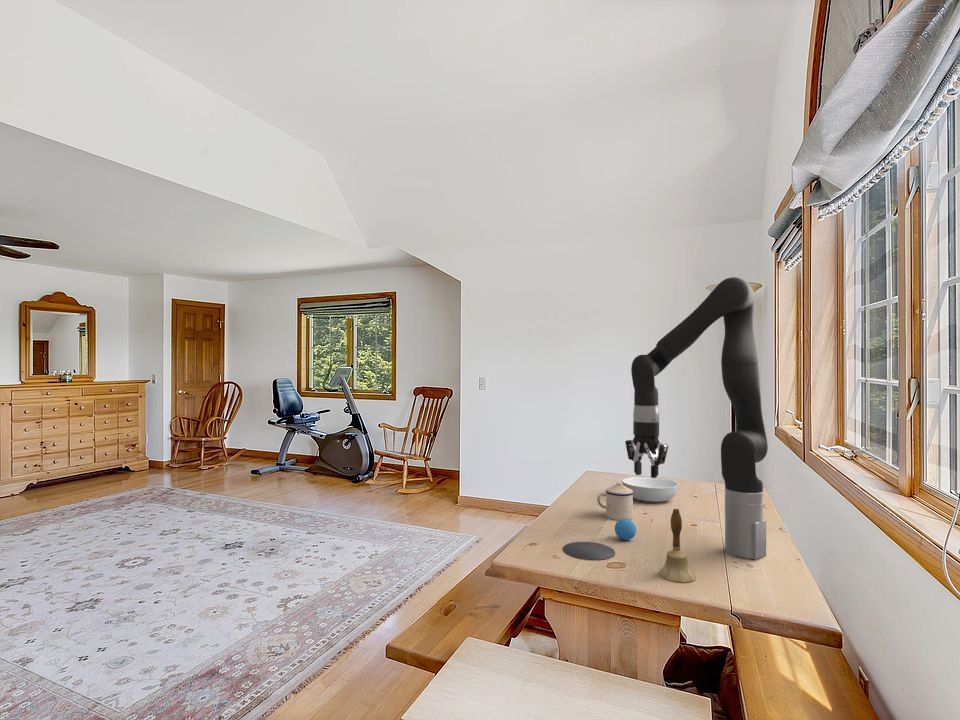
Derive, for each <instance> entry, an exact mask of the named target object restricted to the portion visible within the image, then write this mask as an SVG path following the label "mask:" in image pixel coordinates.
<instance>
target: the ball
mask: <svg viewBox="0 0 960 720" xmlns="http://www.w3.org/2000/svg"><path fill="white" fill-rule="evenodd" d="M614 532H615V534H616V536H617V537H618V538H619V539H621V540H623V541H630V540H632V539H633V538H634V537H635V535H636V533H637V528H636V525H635V522H633V521H632V519H630V520H629V519H620V520H616V522H615V525H614Z"/></svg>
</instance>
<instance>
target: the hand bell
mask: <svg viewBox="0 0 960 720" xmlns="http://www.w3.org/2000/svg"><path fill="white" fill-rule="evenodd" d="M682 529H683V520H682V516H681V513H680V509H679V508H673V509H672V513H671V516H670V530H671V532H672V549H671V550H669V551H667V553H666V559H665V563H664V565H663V566H662V568H660V570H659V571H658V575H659V577H660V578H662V579H664V580H666V581H670V582H672V583H682V584H685V583H686V584H687V583H692V582H694V581H695V580H696V575H695V573H693V571H692V570H691V568H690V566H689V562H688V556H687V553H685V552H683V551H682V549H681V539H680V537H681V531H682Z"/></svg>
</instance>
